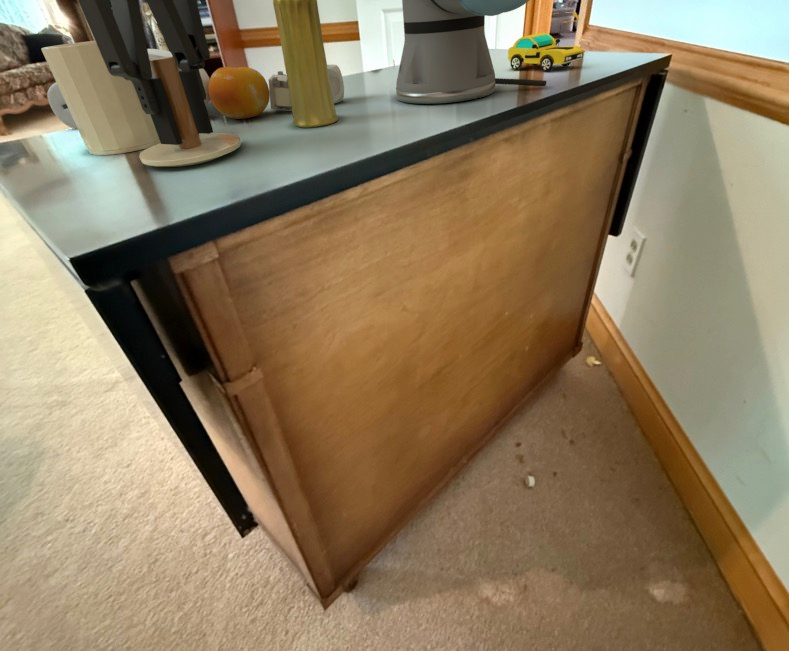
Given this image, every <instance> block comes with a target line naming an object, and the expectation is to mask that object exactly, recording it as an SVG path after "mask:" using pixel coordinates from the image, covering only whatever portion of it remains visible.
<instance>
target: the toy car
mask: <svg viewBox="0 0 789 651" xmlns="http://www.w3.org/2000/svg"><path fill="white" fill-rule="evenodd" d="M571 13H572V14H573V15H574V17H575V18H576V19H577V20H580V17H579V15H578V13H577V12H576V11H570V12H568V11H567V12H566V14H571ZM556 14H558V12H556V13H555V12H554V15H556ZM544 15H547V14H544V13H543V16H544ZM535 16H537V17H538V15H535ZM574 22H576V20H567V21H561V24H565V23H574ZM561 24H560V25H559V29H561V26H562V25H561ZM560 37H561V32H559V35H558V38H557V39H555V38H554V37H553V36H552V35H551V34H549V33H547V32H539V33H535V34H529V35H524V36H521V37H520V38H518V39H517V40H516V41H515V42H514V43H513V46H510V47H508V50H507V51H508V52H507V59H508V61H509V62H510V67H511V69H512V70H513V71H518V70H519V69H521V67H522V65H523V64H531V65H532V66H538V65H540V69H541V71H543V72H546V73H547V72H550V71H551V70H552V69H553V66H554V65H560V66H562V67H568V66H570V65H571V63H574V62H576V61H580V60H582V58H584V53H585V52H584V49H583V48H582V47H581V46H579V45H563V46H560V43H561V39H560Z"/></svg>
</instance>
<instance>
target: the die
mask: <svg viewBox="0 0 789 651" xmlns="http://www.w3.org/2000/svg"><path fill="white" fill-rule="evenodd" d="M327 68H328V75H329V80H330V86H331V91H332V97H333V102H334V104H338V103H340V102H342V101H343V99H344V97H345V85H344V79H343V74H342V71H341V68H340V67H339V66H338V65H337V64H327Z"/></svg>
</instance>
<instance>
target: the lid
mask: <svg viewBox="0 0 789 651" xmlns="http://www.w3.org/2000/svg"><path fill="white" fill-rule="evenodd" d="M150 66H151V69H152V72H153V74H154V77H155V78H161V81H162V83H163V86H164V89H165V92H166V95H167V98H168V101H169V104H170V107H171V110H172V113H173V116H174V119H175V122H176V125H177V128H178V130H179V133H180V136H181V139H182V142H183V143H182V144H179V145H169V144H161V143H160V144H157V145H154V146H152V147H149V148H146V149H143V150H142V151H141V152H140V154H139V155H138V158H139V159H140V162H141V164H143V165H145V166H150V167H170V168H171V167H175V168H177V167H179V168H180V167H188V166H193V165H199V164H203V163H207V162H210V161H213V160H216V159H219V158H221V157H223V156H225V155H227V154H229V153H232V152H234V151H236V150H237V149H238V148H240V147H241V145H242V141H241V140H242V139H241V137H240V136H239V135H237V134H233V133H227V132H226V133H225V132H223V133H222V132H221V133H219V132H218V133H217V132H215V133H214V132H213V133H210V134H200V133H198V130H197V127H196V123H195V120H194V117H193V114H192V111H191V108H190V104H189V101H188V98H187V95H186V92H185V89H184V86H183V82H182V79H181V76H180V73H179V70H178V67H177V64H176V60H175V57H173V56H172V57H161V58H155V59H150Z"/></svg>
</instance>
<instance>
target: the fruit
mask: <svg viewBox="0 0 789 651" xmlns="http://www.w3.org/2000/svg"><path fill="white" fill-rule="evenodd" d="M209 79H210V81H209V88H208V90H209V97H210V102H211V103H212V105H213V107H214V108H215V109H216V111H218V112H219V113H220V114H222V115H223V116H225V117H227V118H229V119H234V120H238V119H239V120H244V119H250V118H253V117H257V116H259V115H260V114H262V113H263V112H264V111H265V110H266V108H267V106H268V105H269V103H270V92H269V83H268V82H267V80H266V79H265V77H264V76H263V75H262V73H261V72H260V71H258V70H256V69H254V68H252V67H249V66H248V67H246V66H238V67H230V66H224V67H219V68H217V69H216V70H215V71H213V73H212V74H211V75H210V77H209Z"/></svg>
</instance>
